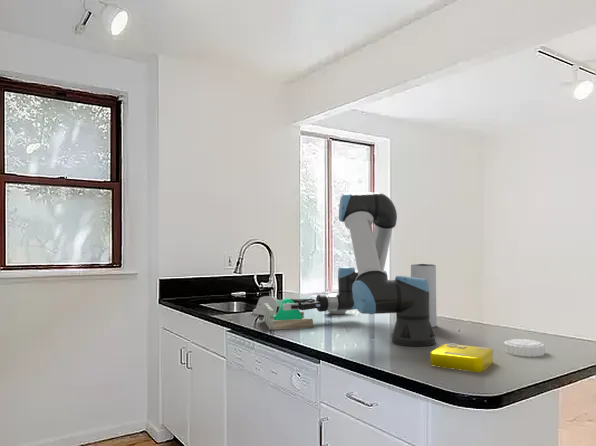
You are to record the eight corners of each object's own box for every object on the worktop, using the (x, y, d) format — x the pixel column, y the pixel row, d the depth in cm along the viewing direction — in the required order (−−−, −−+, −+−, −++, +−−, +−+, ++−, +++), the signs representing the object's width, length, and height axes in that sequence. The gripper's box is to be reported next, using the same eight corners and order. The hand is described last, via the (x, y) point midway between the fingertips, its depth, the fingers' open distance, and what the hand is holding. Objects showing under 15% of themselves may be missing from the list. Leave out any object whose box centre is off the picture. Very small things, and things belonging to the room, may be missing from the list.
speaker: (439, 324, 214) (437, 263, 215) (435, 328, 205) (433, 264, 205) (414, 323, 219) (412, 262, 219) (408, 327, 209) (407, 264, 210)
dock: (312, 327, 211) (312, 308, 212) (270, 329, 208) (269, 310, 209) (303, 319, 233) (302, 302, 233) (264, 321, 230) (264, 303, 230)
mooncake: (514, 347, 171) (514, 336, 171) (551, 352, 162) (551, 341, 162) (497, 352, 163) (497, 341, 163) (534, 359, 154) (534, 347, 154)
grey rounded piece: (252, 313, 255) (257, 293, 257) (259, 315, 258) (264, 296, 260) (271, 316, 242) (276, 296, 244) (278, 319, 245) (284, 299, 247)
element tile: (428, 367, 147) (427, 350, 147) (444, 356, 160) (444, 341, 160) (480, 374, 139) (480, 357, 139) (494, 362, 151) (494, 346, 151)
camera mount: (297, 319, 228) (297, 296, 228) (302, 321, 221) (302, 298, 221) (271, 320, 224) (271, 297, 225) (275, 323, 217) (275, 299, 217)
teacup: (324, 315, 245) (324, 298, 246) (329, 311, 256) (329, 295, 256) (352, 315, 241) (352, 299, 242) (356, 312, 252) (356, 296, 252)
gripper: (335, 315, 214) (286, 318, 208) (318, 307, 237) (273, 309, 232) (335, 297, 214) (286, 299, 208) (318, 291, 238) (273, 293, 232)
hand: (279, 305), depth 220 cm, fingers open, 12 cm apart
